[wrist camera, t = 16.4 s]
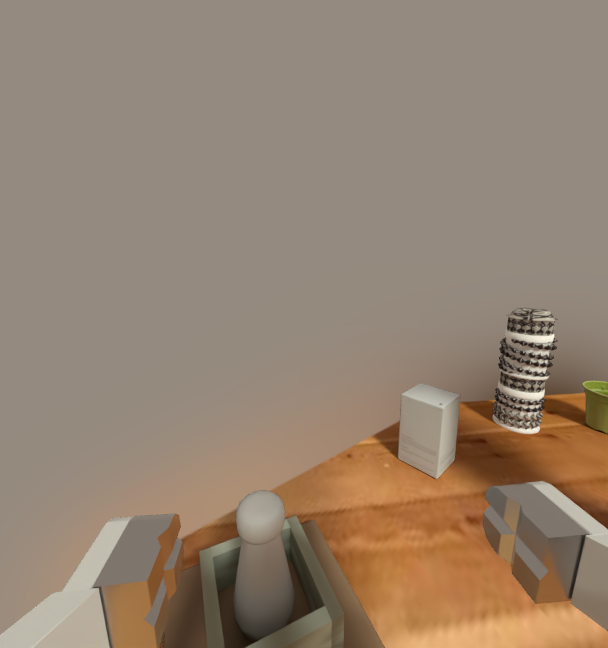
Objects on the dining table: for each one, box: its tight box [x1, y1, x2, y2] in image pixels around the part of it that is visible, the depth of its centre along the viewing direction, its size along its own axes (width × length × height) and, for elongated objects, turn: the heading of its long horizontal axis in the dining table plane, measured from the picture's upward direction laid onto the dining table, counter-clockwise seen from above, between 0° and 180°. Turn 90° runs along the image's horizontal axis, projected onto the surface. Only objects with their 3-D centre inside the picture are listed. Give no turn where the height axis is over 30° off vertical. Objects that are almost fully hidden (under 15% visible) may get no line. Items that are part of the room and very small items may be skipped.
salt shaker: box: [233, 490, 295, 642], centre depth 27 cm, size 6×6×13 cm
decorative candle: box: [492, 308, 557, 434], centre depth 61 cm, size 9×9×25 cm
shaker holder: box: [164, 515, 385, 648], centre depth 28 cm, size 18×16×6 cm
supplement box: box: [398, 383, 461, 479], centre depth 51 cm, size 7×7×13 cm
